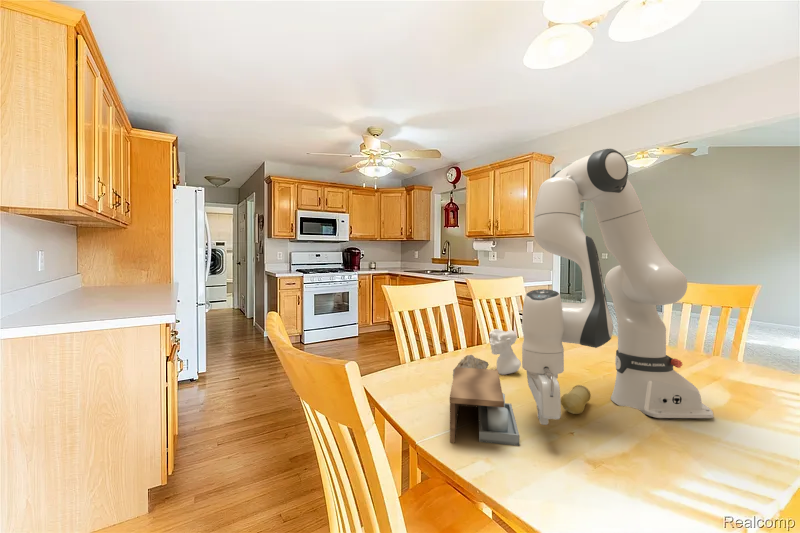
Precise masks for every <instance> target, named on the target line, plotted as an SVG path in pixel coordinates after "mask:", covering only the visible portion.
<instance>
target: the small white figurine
mask: <svg viewBox="0 0 800 533" xmlns="http://www.w3.org/2000/svg"><path fill="white" fill-rule="evenodd" d="M517 339H518V338H517V334H516V332H515V330H512V329H509V330H507V331H505V330H502V329H498V328H495V329H493V330H490V331H489V345H490V350H491V354H493V355H499V356H498V357H497V358H496V370H498V374H499V375H502V376H503V375H504V376H506V375H510V374H514V373H517V372H518V371H519V369H520V367H521V366H522V362H521V360H520V359H519V358H518V357H517V355H516V354H515V353H514V350H513V348H512V345H515V343H516V341H517Z"/></svg>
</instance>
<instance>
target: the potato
mask: <svg viewBox="0 0 800 533" xmlns="http://www.w3.org/2000/svg"><path fill="white" fill-rule="evenodd" d="M560 398H561V407H562V408H563V409H564V410H565V411H566V412H568V413H570V414H572V415H573V414H574V415H578V414H579V415H580V414H582V413H583V411H584V410H585V406H586V405H587V403H588V402H589V401H590V400H591V398H592V396H591V392H590V389H589V388H587V387H586V386H584V385H581V384H578V385H575V386H573V387H572V388H571V389H570V390H569V392H567V393H564V394H562V395H561V396H560Z"/></svg>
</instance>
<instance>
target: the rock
mask: <svg viewBox="0 0 800 533" xmlns="http://www.w3.org/2000/svg"><path fill="white" fill-rule="evenodd" d="M489 364H490V363H489V362H488V361H486V360H483V359H481V358H478V357H475V356H474V355H473V354H469V355H468V354H467V355H466V356H463V358H462V359H461V360H460V361H459V362H458V364H457V365H456V366H455V367H454V369H453V370H452V371H453V372H452V379H453V378H454V373H455V368H456V367H458V368H475V369H488V367H489Z"/></svg>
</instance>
